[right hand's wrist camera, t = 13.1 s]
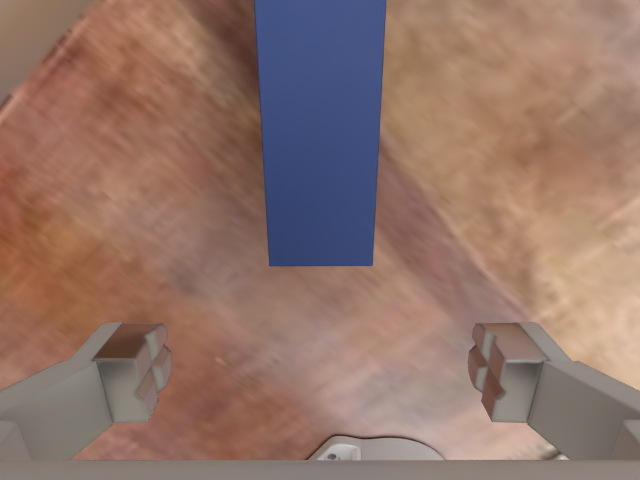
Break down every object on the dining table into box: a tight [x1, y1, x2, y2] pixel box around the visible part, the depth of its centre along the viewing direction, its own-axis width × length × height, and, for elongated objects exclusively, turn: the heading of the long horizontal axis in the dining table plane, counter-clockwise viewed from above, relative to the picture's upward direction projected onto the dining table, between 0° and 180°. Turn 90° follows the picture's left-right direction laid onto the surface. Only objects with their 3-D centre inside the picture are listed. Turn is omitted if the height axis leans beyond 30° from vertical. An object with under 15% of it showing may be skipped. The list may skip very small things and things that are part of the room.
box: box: [254, 0, 386, 266], centre depth 23 cm, size 27×6×10 cm, turn 0°
